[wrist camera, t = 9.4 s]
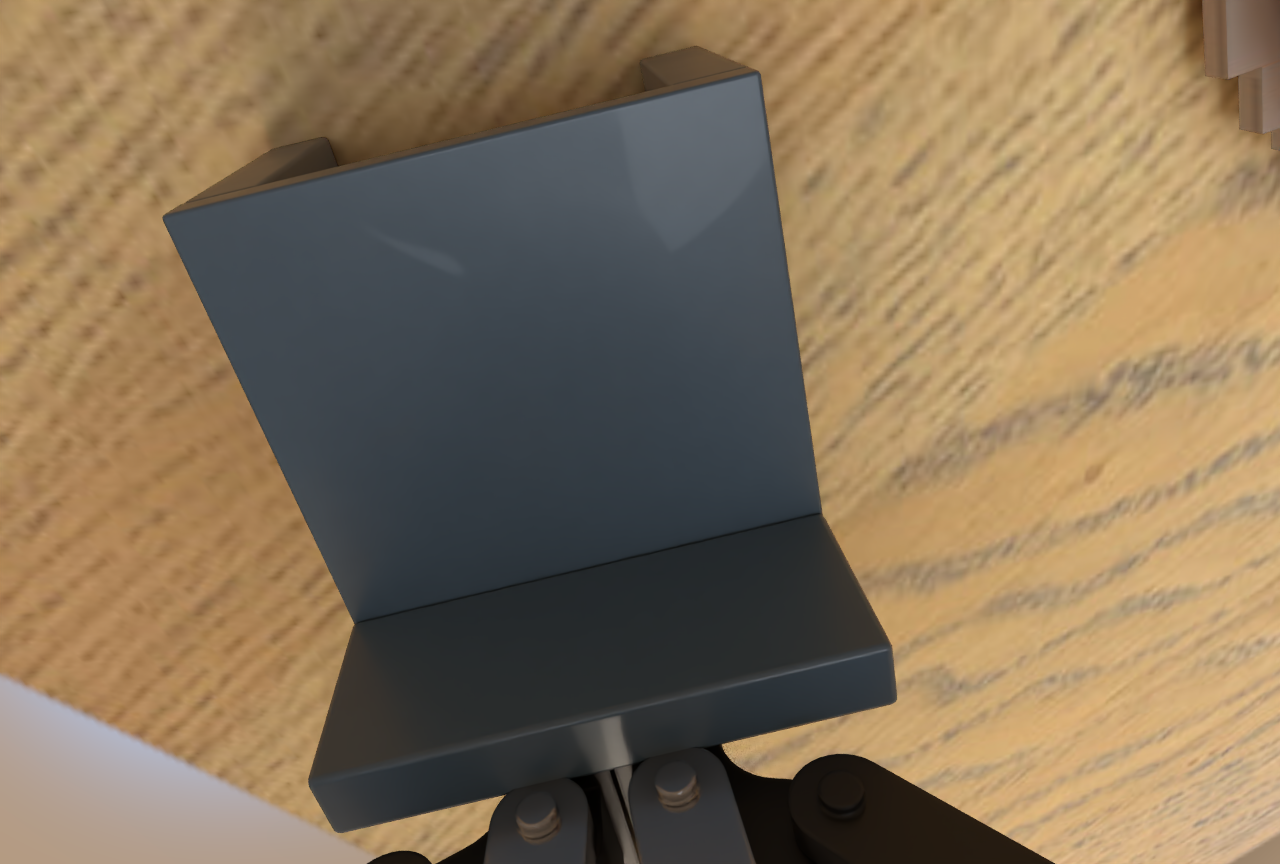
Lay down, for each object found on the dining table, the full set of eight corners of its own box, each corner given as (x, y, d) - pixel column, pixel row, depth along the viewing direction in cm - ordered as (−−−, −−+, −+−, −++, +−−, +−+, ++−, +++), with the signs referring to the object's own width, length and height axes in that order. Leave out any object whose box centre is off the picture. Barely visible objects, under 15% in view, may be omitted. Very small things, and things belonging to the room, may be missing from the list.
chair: (413, 511, 18) (334, 838, 11) (268, 149, 14) (24, 297, 8) (763, 428, 18) (900, 705, 11) (698, 45, 14) (839, 101, 8)
